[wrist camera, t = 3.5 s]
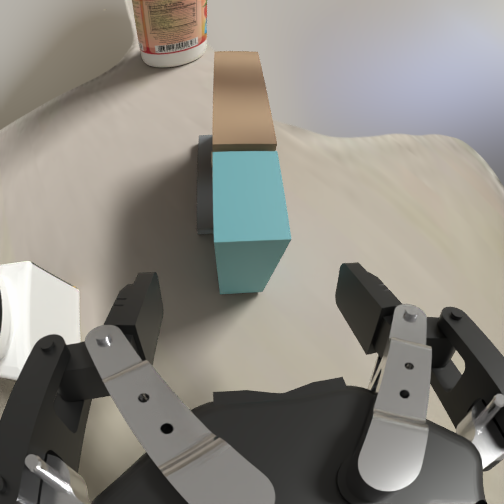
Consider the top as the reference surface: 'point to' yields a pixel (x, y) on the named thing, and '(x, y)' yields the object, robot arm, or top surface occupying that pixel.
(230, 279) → the teal block
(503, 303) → the top surface
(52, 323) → the medicine bottle
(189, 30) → the fruit juice
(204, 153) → the brown block
